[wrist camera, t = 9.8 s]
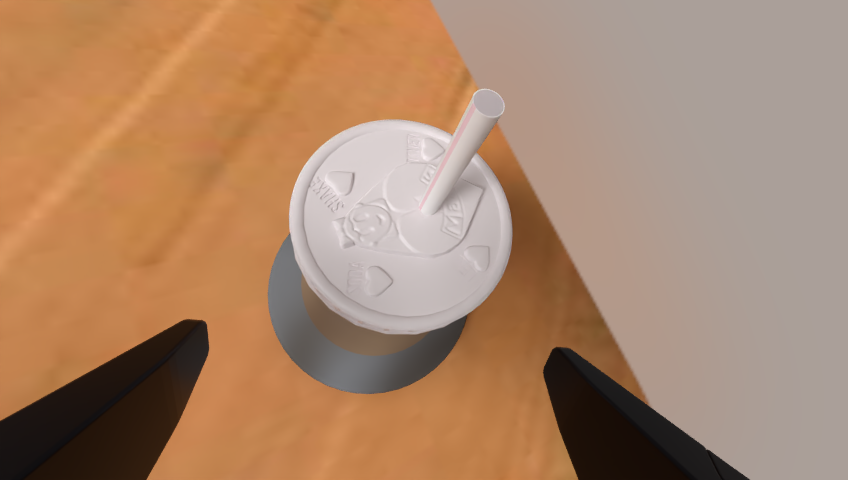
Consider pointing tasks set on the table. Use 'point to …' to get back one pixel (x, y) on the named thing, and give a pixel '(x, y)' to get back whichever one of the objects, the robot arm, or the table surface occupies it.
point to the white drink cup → (403, 221)
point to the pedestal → (347, 338)
